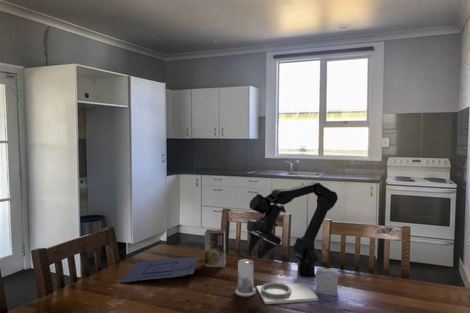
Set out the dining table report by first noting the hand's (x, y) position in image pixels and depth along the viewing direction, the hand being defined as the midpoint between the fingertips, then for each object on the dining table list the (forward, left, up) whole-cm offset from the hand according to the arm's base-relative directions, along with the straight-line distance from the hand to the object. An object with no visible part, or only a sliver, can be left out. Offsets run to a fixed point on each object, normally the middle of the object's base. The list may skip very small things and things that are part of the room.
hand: (254, 253), depth 147 cm
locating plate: (-10, +11, -13) cm, 19 cm away
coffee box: (+13, -25, -13) cm, 31 cm away
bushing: (+5, +7, -13) cm, 15 cm away
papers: (+37, -18, -13) cm, 43 cm away
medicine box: (-26, +12, -13) cm, 31 cm away
